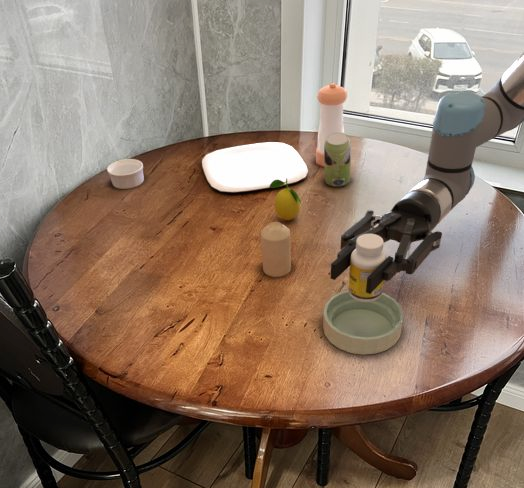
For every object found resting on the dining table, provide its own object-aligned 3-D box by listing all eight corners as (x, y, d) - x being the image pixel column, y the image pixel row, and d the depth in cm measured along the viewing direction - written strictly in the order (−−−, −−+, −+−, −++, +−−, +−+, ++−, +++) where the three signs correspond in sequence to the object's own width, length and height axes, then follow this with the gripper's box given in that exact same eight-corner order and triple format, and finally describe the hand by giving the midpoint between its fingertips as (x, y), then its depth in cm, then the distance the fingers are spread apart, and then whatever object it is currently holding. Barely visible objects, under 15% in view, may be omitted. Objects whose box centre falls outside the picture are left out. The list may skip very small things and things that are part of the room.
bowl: (412, 321, 94) (415, 303, 91) (381, 367, 86) (383, 349, 83) (344, 298, 99) (345, 280, 96) (309, 340, 91) (309, 322, 89)
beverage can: (350, 177, 133) (353, 128, 124) (348, 192, 128) (351, 142, 119) (324, 177, 134) (326, 128, 125) (321, 191, 129) (323, 141, 120)
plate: (213, 202, 127) (213, 195, 126) (197, 158, 145) (197, 151, 144) (316, 185, 131) (316, 178, 130) (288, 144, 149) (288, 137, 148)
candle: (292, 277, 104) (291, 232, 98) (264, 279, 104) (261, 234, 97) (289, 261, 108) (288, 216, 102) (262, 263, 108) (259, 219, 101)
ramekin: (153, 178, 138) (149, 161, 135) (131, 193, 133) (128, 177, 130) (125, 172, 141) (121, 156, 138) (103, 187, 136) (99, 171, 133)
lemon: (270, 215, 122) (268, 173, 115) (295, 211, 122) (295, 169, 116) (277, 230, 117) (275, 187, 110) (303, 226, 118) (303, 183, 111)
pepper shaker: (336, 154, 143) (339, 76, 129) (349, 165, 138) (353, 85, 124) (311, 159, 141) (312, 81, 128) (323, 170, 136) (325, 91, 123)
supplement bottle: (347, 281, 89) (351, 230, 82) (381, 282, 89) (387, 230, 82) (348, 302, 85) (352, 250, 78) (382, 303, 85) (390, 251, 78)
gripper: (467, 246, 91) (404, 321, 78) (370, 215, 99) (299, 278, 87) (477, 205, 86) (411, 279, 73) (374, 177, 94) (299, 238, 81)
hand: (350, 278), depth 80 cm, fingers closed on supplement bottle, 5 cm apart
